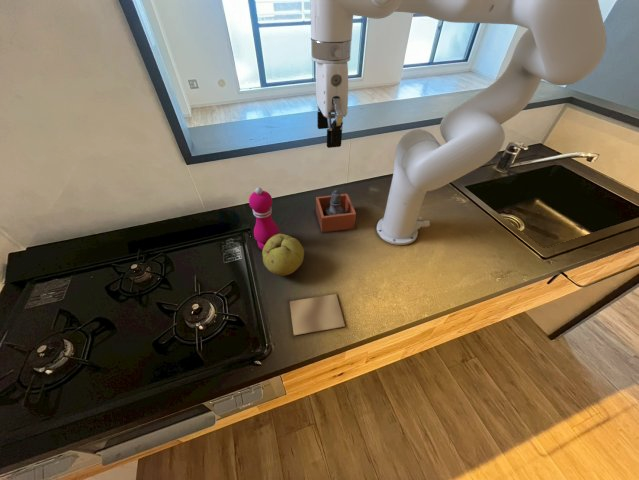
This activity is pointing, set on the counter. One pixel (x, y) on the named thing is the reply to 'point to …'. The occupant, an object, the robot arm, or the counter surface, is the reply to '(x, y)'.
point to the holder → (335, 220)
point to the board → (316, 314)
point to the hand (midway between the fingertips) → (328, 137)
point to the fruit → (282, 254)
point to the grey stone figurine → (335, 204)
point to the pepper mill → (262, 216)
